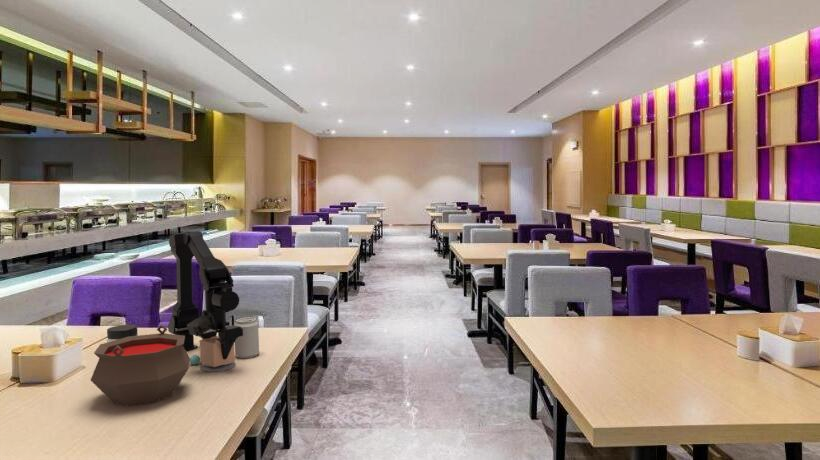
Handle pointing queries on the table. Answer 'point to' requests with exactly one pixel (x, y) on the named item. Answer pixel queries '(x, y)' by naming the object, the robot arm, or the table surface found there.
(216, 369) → the coaster
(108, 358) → the brown cauldron
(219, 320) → the robot arm
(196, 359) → the marble teal
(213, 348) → the peach beveled cube
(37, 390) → the table surface
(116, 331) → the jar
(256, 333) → the can
